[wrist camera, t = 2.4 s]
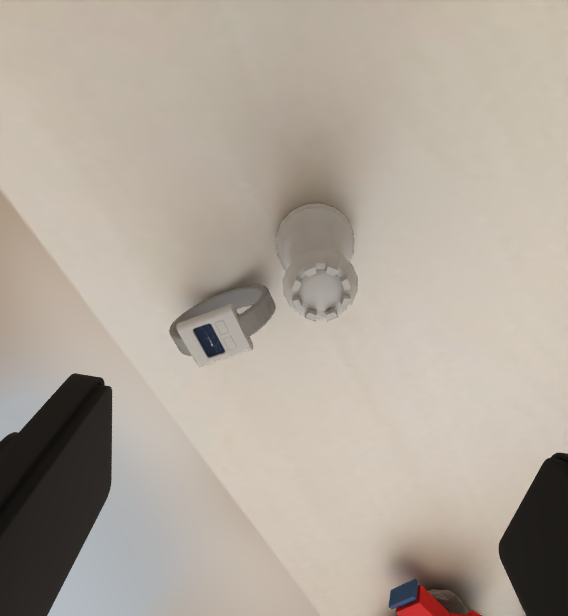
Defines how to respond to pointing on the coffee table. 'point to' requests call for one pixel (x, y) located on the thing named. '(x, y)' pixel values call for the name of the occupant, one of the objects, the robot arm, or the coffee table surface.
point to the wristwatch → (222, 324)
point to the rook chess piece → (317, 261)
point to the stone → (449, 601)
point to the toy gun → (418, 602)
